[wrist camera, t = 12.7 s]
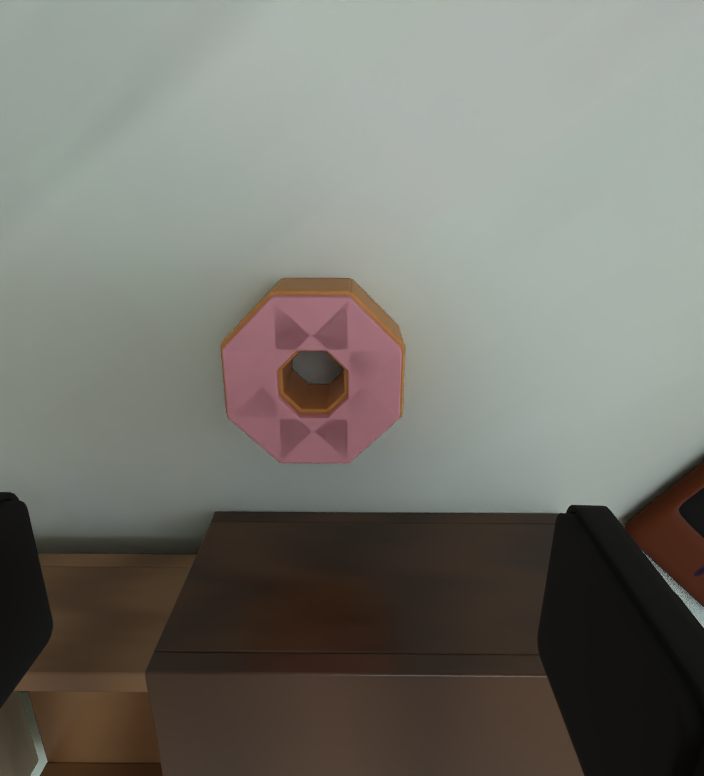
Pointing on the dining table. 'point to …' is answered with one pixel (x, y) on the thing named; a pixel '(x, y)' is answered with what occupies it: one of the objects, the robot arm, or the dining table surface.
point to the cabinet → (360, 649)
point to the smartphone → (676, 532)
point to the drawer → (95, 667)
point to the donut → (314, 401)
